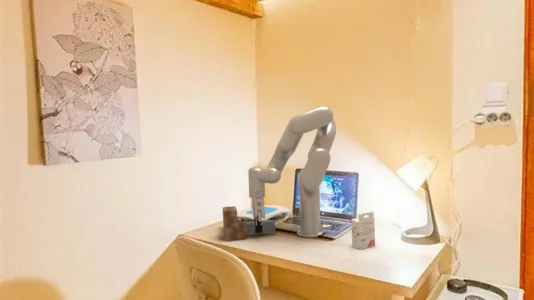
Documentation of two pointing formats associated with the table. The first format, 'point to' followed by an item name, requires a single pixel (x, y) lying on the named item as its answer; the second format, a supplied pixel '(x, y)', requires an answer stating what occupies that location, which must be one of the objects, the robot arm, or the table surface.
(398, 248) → the table surface
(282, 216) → the white step stool
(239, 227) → the brown stepped block
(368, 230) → the ink cartridge box
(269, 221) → the grey rectangular block
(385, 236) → the table surface
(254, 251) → the table surface
